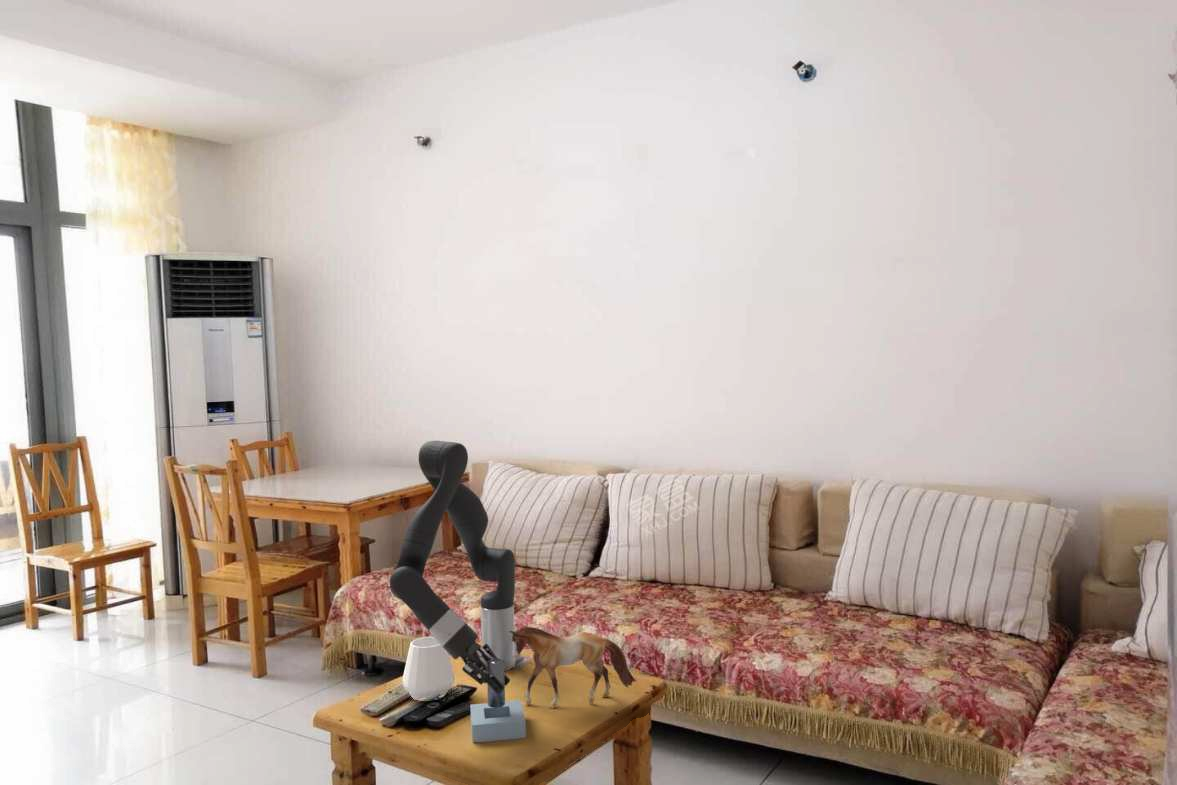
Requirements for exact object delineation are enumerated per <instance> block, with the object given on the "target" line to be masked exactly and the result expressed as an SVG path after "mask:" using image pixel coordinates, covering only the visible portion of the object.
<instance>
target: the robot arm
mask: <svg viewBox="0 0 1177 785" xmlns="http://www.w3.org/2000/svg"><path fill="white" fill-rule="evenodd" d="M468 454H469V453H468V450H467V447H465V445H463V444H462V443H460V442H455V441H453V442H452V441H444V440H428V441H426V442H424V443H423V444H422V445H421V446H420V448H419V452H418V465H419V466H420V470H421V473H423V474H422V475H423V476H424V477H425V479H426V480H427V481H428V483H429V484H430V486H431V487H432V489H433V490H434V492H432V495H431V496H430V497H428V500H426V502H424V503H423V504H422V505H421V507H420V508H418V510H417V511H416V512H415V514H414V515H413V517H412V518H411V520H410V521H409V523H408V525H407V529H406V532H405V534H404V538H403V540H402V544H401V548H400V554H399V557H398V561H397V563H396V566H395V568H394V571H393V572H392V573H391V575H390V577H389V589H390V592H391V594H392V595H393V596H394V597H396V599H398V600H400V601H402V602H403V603H404V604H405V605H406V606H407V607H408V608H409V609H410V610H411V611H412V612H413V613H414V616H415V617H416V619H417V620H418V621H419V622H420V623H421V624H422V625H423V626H424V627H425V629H427V631H428V632H429V633H430V634H431V635H432V636H431V637H434V638H435V639H436V641H437V642H438V643H439V644H440V645H441V646H442V647H443V648H444V649H445V650H446V651H447V652H448V654H449V656H451V657H452V659H454V660H458V659H459V658H461V660H462V661H463V663H464V666H463V667H462V668H461V670H462V671H463V673H465V674H466V675H467V676H469V677H471V678H472V679H473V680H474V681H475V682H477V683H478V684H479V685H482V684H488V685H489V686H490V687H491V688H492V689H493V690H494V691H495V692H496V693H497V694H500V693H501V692H502V691H503V690H504V688H505V689H506V687H507V685H508V684H509V683H510V681H511V679H510V677H508V676H507V674H505V687H504V686H503V684H502V683H501V682H500V681H499V680H498V679H497V678H496V677H495V676H493V674H492V673H491V671H490V670H489V669H488V667H489V665H488V664H487V661H488V660H491V659H502V660H504V670H505V671H509V670H512V669H513V668H514V667H515V666H516V658H514V657H513V655H512V654H513V642H512V635H513V633H511V632H509V631H514V632H516V631H515V609H514V608H515V605H514V604H515V603H514V601H515V591H516V590H515V588H516V559H515V555H514V552H513V550H511V549H509V548H500V547H499V548H497V547H496V548H495V547H488V546H486V544H485V542H484V540H483V538H484V537H485V533H486V530H487V528H488V526H489V516H488V513H487V511H486V508H485V506H484V505H483V502H482V500H481V499H480V497H479V496H478V495H477V494H476V493H475V492H474V491H473V490H472V489H470V488H469V487H468V486H466V484H464V483H463V482H461V481H462V479H463V477H464V475H465V473H466V472H465V471H466V470H467V466H468V462H469V461H468V460H469V455H468ZM446 512H447V515H448V517H449V519H450V522H451V523H452V525H453V528H454V529H455V531H456V532H457V534H458V536H459V539H460V540H461V543H462V544H463V547H464V549H465V552H466V554H467V557H468V560H469V563H470V565H471V568H472V571H473V572H474V573H473V574H474V575H475V577H476V578H477V579H479V580H481V581H484V582H493V583H495V582H496V583H497V586H496V589H495V590H492V591H490V592H486V593H484V594H482V595H481V597H480V620H481V621H480V624H481V627H480V629H481V645H480V644H479V643H477V642H476V640H478V637H479V635H478V634H477V632H475V630H474V629H472V628H471V626H470V625H469V624H468V623H467V622H466V621H465V620H464V619H463V618H462V617H461V616H460V615H459V614H458V613H457V612H455V611H454V610H453V609H451V607H450V606H449V605H448V604H447V603H446V602H445V601H444V600H443V599H442V598H441V597H440V596H438V594H437V593H436V592H434V590H433V589H432V587H431V586H430V585H429V584H428V582H427V581H426V580H425V579H424V578H423V576H424V572H425V569H426V564H427V562H428V558H429V556H430V555H431V552H432V549H433V545H434V542H435V540H436V536H437V533H438V531H439V530H438V529H439V528H440V526H441V522H442V519H443V517H444V515H445V514H446ZM514 665H515V666H514ZM513 666H514V667H513ZM512 667H513V668H512ZM511 668H512V669H511ZM488 685H487V686H488Z"/></svg>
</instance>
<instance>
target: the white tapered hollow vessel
mask: <svg viewBox="0 0 1177 785" xmlns="http://www.w3.org/2000/svg"><path fill="white" fill-rule="evenodd" d="M455 682H456V676H455V673H454V669H453V665H452V662H451V658H450V654H449V653H448V652H447V651H446V650H445V649H444V648H443V647H442V646H441V645H440V644H439V643H438V642H437V641H436V639H435V638H434V637H433V636H423V637H419V638H418V637H417V638H416V639H414V640H412V641H411V642H410V645H409V649H408V653H407V657H406V662H405V666H404V671H403V675H402V686H403V688H404V690H405V691H406V692H407V691H408V692H409V694H410V695H411V697H412V698H413V699H414V700H413V699H412V698H411V697H410V698H411V699H412V700H413V701H415V700H418V699H420V698H423V697H428V696H431V695H436V694H440V693H443V692H446V691H448V690H449V689H450V690H451V688H452V686H453V684H454V683H455ZM450 690H449V691H450ZM408 692H407V693H408ZM409 694H408V695H409ZM410 695H409V696H410Z"/></svg>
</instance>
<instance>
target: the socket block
mask: <svg viewBox="0 0 1177 785" xmlns="http://www.w3.org/2000/svg"><path fill="white" fill-rule="evenodd" d="M470 726H471V738H472V739H471V740H472V741H471V742H472V743H473V742H476V743H485V742H493V741H494V742H496V741H507V740H515V739H516V740H517V739H527V730H526V729H527V728H526V717H525V713H524V709H523V704H522V700H520V699H518V700H508V701H506V700H505V705H504V706H502V707H497V708H493V707H489V706H488V702H484V703H475V704H470Z"/></svg>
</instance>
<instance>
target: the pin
mask: <svg viewBox="0 0 1177 785" xmlns="http://www.w3.org/2000/svg"><path fill="white" fill-rule="evenodd" d="M487 664H488V665H489V667H488V669H489V670H490V671H491V673H492V674H493V676H495V677H496V678H497V679H498V680H499V681H500V682H501V683H502V684H503V686H504V687H505V688H504V690H503V691H502V692H501V693H500V694H497V693H496V692H495V691H494V690H493V689H492V688H491V687H490V686H489V685H488V684H487V683H486V684H487V703H488V706H489V707H493V708H497V707H502V706H504V705H505V702H506V686H505V675H506V673H505V671H506V670H504V660H502V659H491V660H488V661H487Z"/></svg>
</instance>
